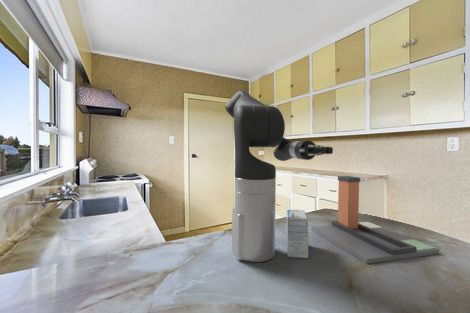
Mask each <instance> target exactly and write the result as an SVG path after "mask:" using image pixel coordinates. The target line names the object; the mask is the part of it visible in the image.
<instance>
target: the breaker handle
mask: <svg viewBox="0 0 470 313" xmlns="http://www.w3.org/2000/svg"><path fill="white" fill-rule="evenodd" d="M337 181H338V194H337V196H338V200H337V201H338V203H337V220H338V223H340V224H343V225H345V226H347V227H349V228H351V229H356V228H358V223H359V205H360V204H359V202H360V201H359V200H360V182H361V177H359V176H352V175H339V176H337Z"/></svg>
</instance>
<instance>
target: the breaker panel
mask: <svg viewBox="0 0 470 313" xmlns="http://www.w3.org/2000/svg"><path fill="white" fill-rule="evenodd" d="M310 228H311V231H312V232H314V233H315V234H318V235H319V236H321V237H322V238H324V239H325V240H326V241H328V242H330V243H332V244H334V245H335V246H336V247H339V248H340V249H342V250H344V251H345V252H347V253H348V254H349V255H351V256H353V257H354V258H356V259H357V260H360V262H363V263H364V264H373V263H374V264H377V263H383V262H389V261H397V260H402V259H403V260H404V259H410V258H418V257H425V256H432V255H434V256H435V255H439V254H440V252H441V250H440V248H437V247H434V246H432V245H429V244H426V243H425V242H421V241H419V240H417V239H414V238H412V237H408V236H406V235H403V234H400V233H399V232H395V231H394V230H391V229H388V228H385V227H383V226H380V225H378V224H375V223H372V222H370V221H361V222H360V221H358V228H356V229H351V228H349V227H347V226H345V225H343V224H340V223H338V219H337V220H331V223H330V224H326V225H316V226H315V225H314V226H311V227H310Z"/></svg>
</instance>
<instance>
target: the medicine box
mask: <svg viewBox="0 0 470 313" xmlns="http://www.w3.org/2000/svg"><path fill="white" fill-rule="evenodd" d="M286 247H287V249H286V250H287V257H288V258H289V257H290V258H297V259H299V258H300V259H308V258H309V219H308V216H307V215H306V211H305V210H302V209H287V210H286Z"/></svg>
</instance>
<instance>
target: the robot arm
mask: <svg viewBox="0 0 470 313" xmlns="http://www.w3.org/2000/svg"><path fill="white" fill-rule="evenodd" d="M224 109H225V110H226V112H227V113H228V115H230V116H231V117H232V118H233V136H234V138H233V139H234V208H232V213H231V216H232V217H231V218H232V219H231V222H232V224H231V226H232V227H231V231H232V232H231V238H232V240H231V249H232V250H233V253H234V255H235V258H236V259H237V260H238V261H245V262H250V263H251V262H252V263H261V262H265V261H269V260H272V259H273V258H274V257H275V254H276V188H277V187H276V180H277V169H276V166H275V165H274V164H273V163H270V162H267V161H263V160H262V159H260V158H257V157H256V156H254V155H253V154H252V152H251V150H250V148H275V149H274V150H273V156H274V158H275V159H276V160H278V161H281V162H282V161H283V162H285V161H288V160H291V159H296V160H305V161H309V160H313V159H314V158H315V156H317V157H318V156H323V155H332V154H333V153H334V150H333V147H332V146H323V145H319V144H316V143H315V142H313V141H312V140H309V139H308V140H297V141H292V140H290V139H288V138H285V137H284V135H285V130H286V126H285V125H286V124H285V118H284V115H283V114H282V112H281V111H280V109H279V108H278V107H276V106H274V105H266V104H264V102H261V101H260V100H258V99H257V98H255V97H253V96H252V95H251V94H249V93H248V92H247V91H246V90H241V89H240V90H238V91H236V92H235V94H234V95H233V96H232V97H231V98H230V99H229V100H228V101H227V103H226V104H225V105H224Z"/></svg>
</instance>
